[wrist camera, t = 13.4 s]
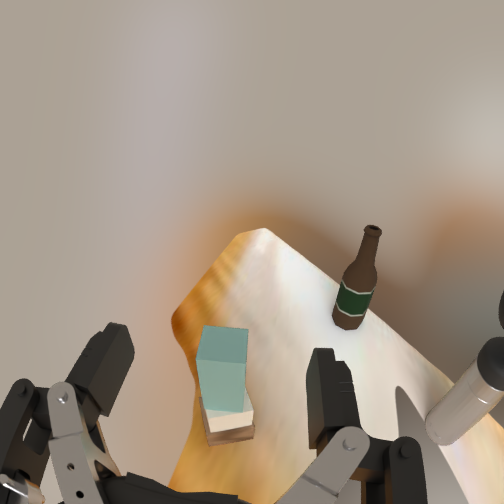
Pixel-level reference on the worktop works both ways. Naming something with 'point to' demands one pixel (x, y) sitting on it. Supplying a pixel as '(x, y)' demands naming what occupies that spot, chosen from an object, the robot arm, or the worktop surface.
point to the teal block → (222, 367)
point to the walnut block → (226, 432)
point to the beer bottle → (358, 283)
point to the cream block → (230, 417)
